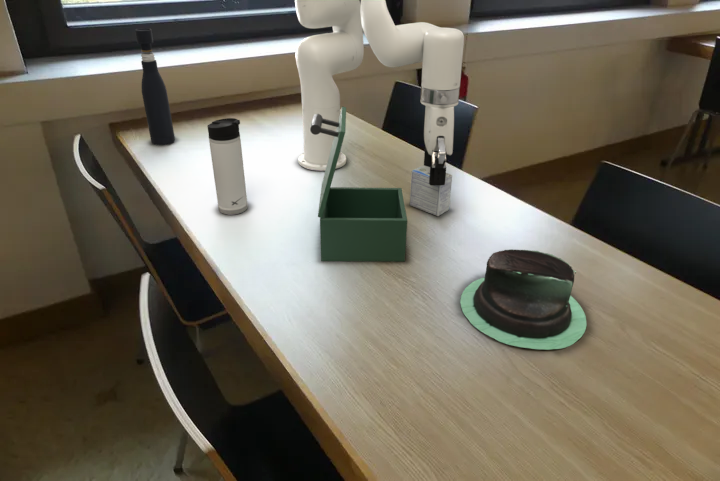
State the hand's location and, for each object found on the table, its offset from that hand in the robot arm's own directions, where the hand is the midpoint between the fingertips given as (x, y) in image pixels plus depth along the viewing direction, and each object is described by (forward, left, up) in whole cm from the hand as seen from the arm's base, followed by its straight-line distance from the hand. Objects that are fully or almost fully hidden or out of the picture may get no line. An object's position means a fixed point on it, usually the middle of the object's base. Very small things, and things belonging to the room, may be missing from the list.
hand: (433, 175), depth 114 cm
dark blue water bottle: (-40, -71, -8) cm, 82 cm away
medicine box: (0, 0, -8) cm, 8 cm away
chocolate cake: (+36, +11, -8) cm, 38 cm away
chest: (+15, -15, -8) cm, 23 cm away
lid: (+15, -21, +9) cm, 27 cm away
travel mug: (+1, -43, -8) cm, 44 cm away
